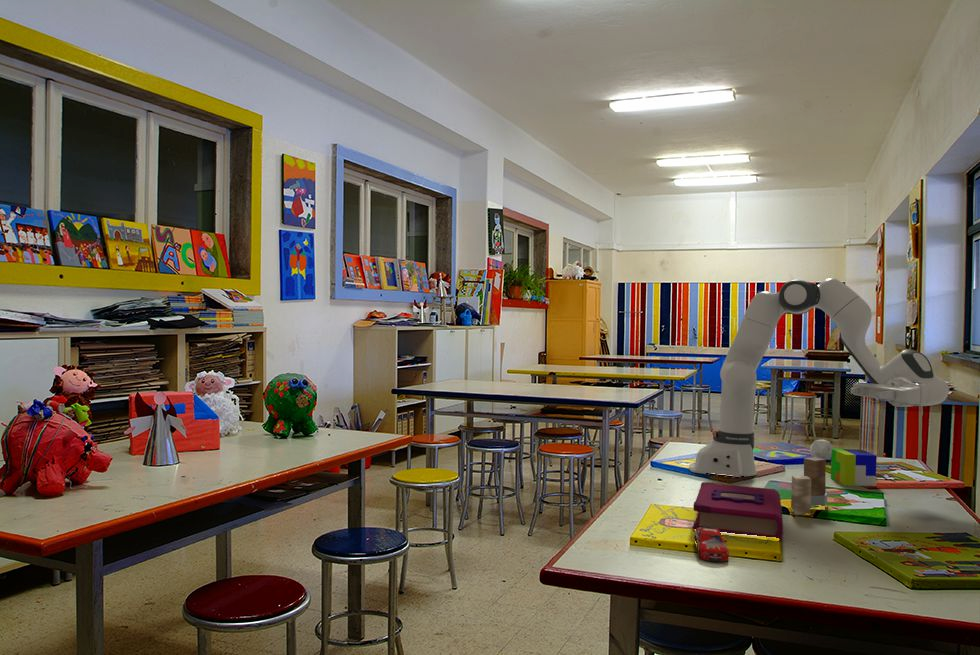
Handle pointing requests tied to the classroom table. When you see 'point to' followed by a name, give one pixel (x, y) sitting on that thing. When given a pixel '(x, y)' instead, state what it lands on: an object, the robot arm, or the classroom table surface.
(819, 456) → the grey rounded lump
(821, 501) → the slate block
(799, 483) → the maple block
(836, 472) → the puzzle toy
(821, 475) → the walnut block
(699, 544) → the race car
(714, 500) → the book
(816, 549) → the classroom table surface
